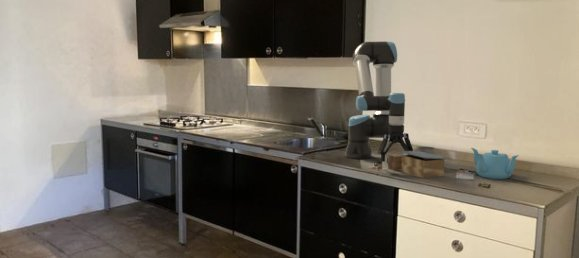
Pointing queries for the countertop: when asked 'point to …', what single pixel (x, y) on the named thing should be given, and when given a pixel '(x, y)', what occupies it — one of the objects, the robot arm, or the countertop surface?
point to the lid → (423, 154)
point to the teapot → (494, 165)
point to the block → (394, 162)
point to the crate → (422, 166)
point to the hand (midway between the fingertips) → (395, 166)
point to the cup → (427, 150)
